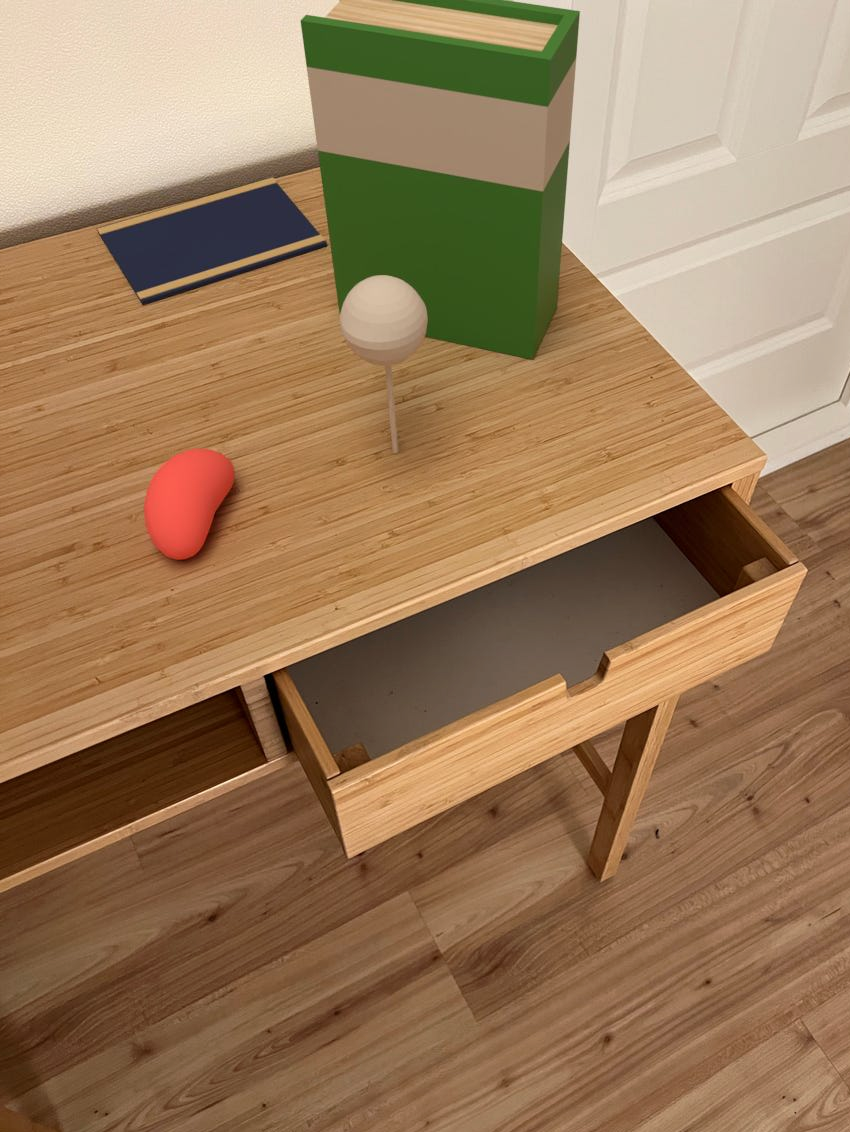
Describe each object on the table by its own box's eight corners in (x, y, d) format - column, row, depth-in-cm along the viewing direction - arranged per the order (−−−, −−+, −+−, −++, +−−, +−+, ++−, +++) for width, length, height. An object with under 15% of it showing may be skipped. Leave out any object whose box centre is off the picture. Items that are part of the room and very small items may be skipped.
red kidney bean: (130, 550, 73) (116, 530, 67) (182, 443, 75) (173, 414, 69) (196, 578, 74) (189, 561, 68) (247, 472, 76) (244, 446, 70)
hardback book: (340, 318, 87) (300, 20, 67) (371, 270, 91) (342, -24, 72) (533, 359, 84) (550, 59, 64) (557, 307, 88) (579, 11, 68)
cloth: (142, 305, 88) (141, 300, 88) (97, 231, 95) (95, 227, 94) (327, 246, 93) (326, 241, 93) (272, 180, 100) (271, 175, 99)
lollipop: (386, 414, 80) (370, 246, 68) (448, 441, 78) (443, 273, 66) (341, 461, 77) (316, 294, 65) (405, 490, 75) (391, 323, 63)
